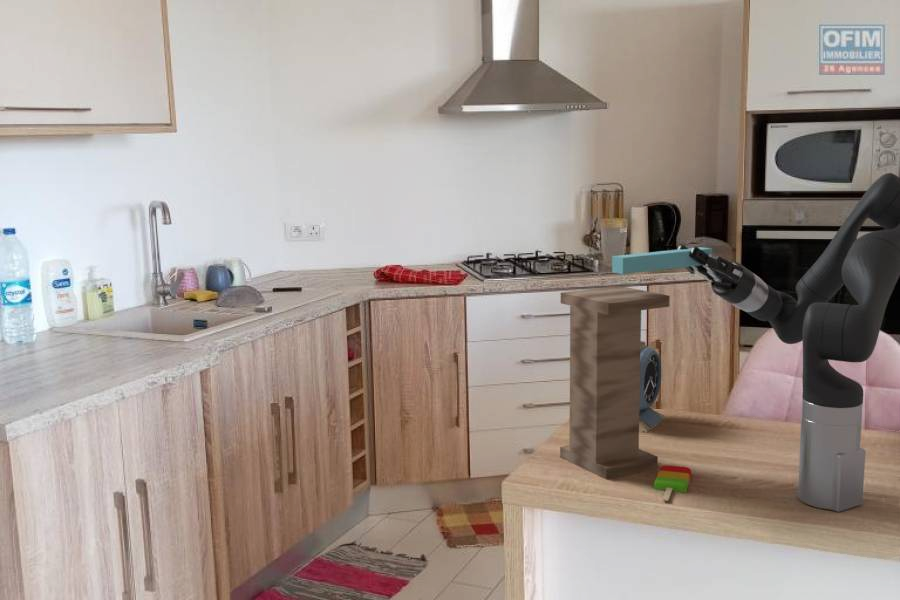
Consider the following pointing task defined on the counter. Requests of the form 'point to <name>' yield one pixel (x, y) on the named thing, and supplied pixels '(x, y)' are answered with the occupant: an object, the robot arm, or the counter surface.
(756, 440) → the counter surface
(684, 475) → the popsicle
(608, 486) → the counter surface
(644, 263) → the teal bar
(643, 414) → the alarm clock
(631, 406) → the shelf stand
